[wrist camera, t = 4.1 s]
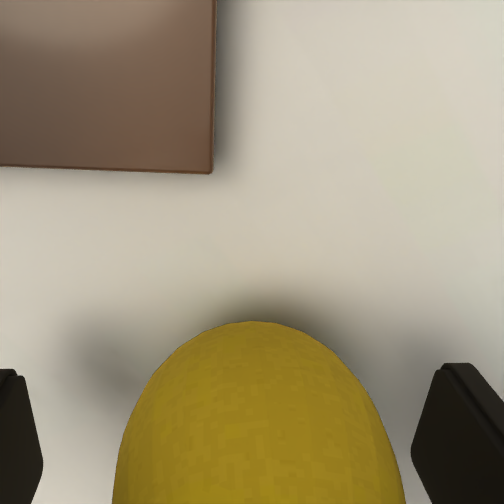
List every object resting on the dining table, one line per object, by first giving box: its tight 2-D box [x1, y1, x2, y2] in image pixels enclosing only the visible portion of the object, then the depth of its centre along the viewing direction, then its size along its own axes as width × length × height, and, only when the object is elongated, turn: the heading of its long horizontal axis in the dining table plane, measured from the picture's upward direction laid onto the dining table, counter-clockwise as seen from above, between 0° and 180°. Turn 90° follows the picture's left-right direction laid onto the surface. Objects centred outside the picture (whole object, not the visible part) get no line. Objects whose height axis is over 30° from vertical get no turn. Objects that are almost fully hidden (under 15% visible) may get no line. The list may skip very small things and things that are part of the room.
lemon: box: [112, 321, 406, 504], centre depth 9 cm, size 6×6×8 cm
